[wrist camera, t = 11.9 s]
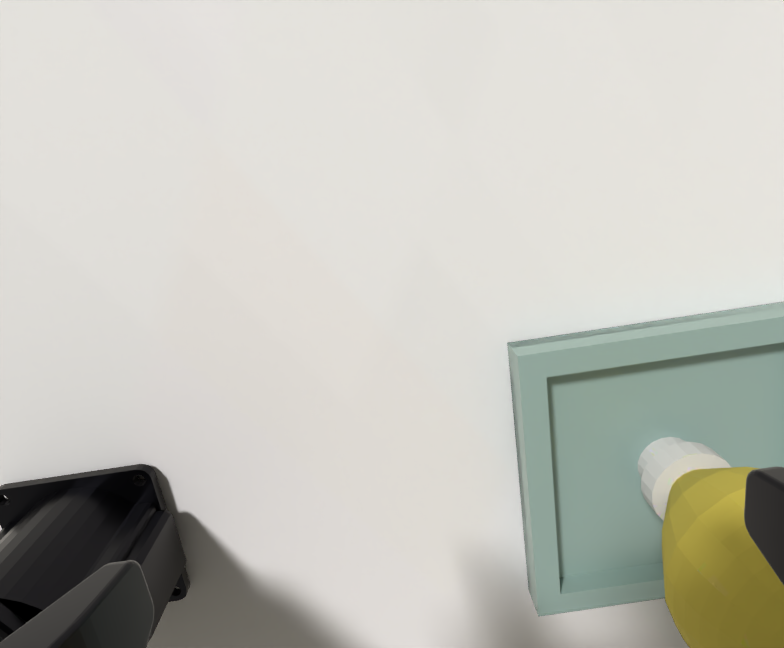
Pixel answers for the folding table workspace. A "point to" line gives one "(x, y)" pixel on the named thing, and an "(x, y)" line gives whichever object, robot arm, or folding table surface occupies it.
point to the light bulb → (710, 549)
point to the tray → (632, 439)
